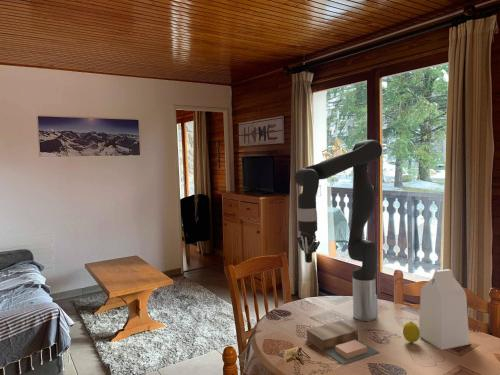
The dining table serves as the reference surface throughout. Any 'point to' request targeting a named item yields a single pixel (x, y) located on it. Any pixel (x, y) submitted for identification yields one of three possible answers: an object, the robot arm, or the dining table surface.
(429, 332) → the milk
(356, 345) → the pink sponge
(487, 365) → the dining table surface
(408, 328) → the lemon
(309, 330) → the deck
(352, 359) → the mat
